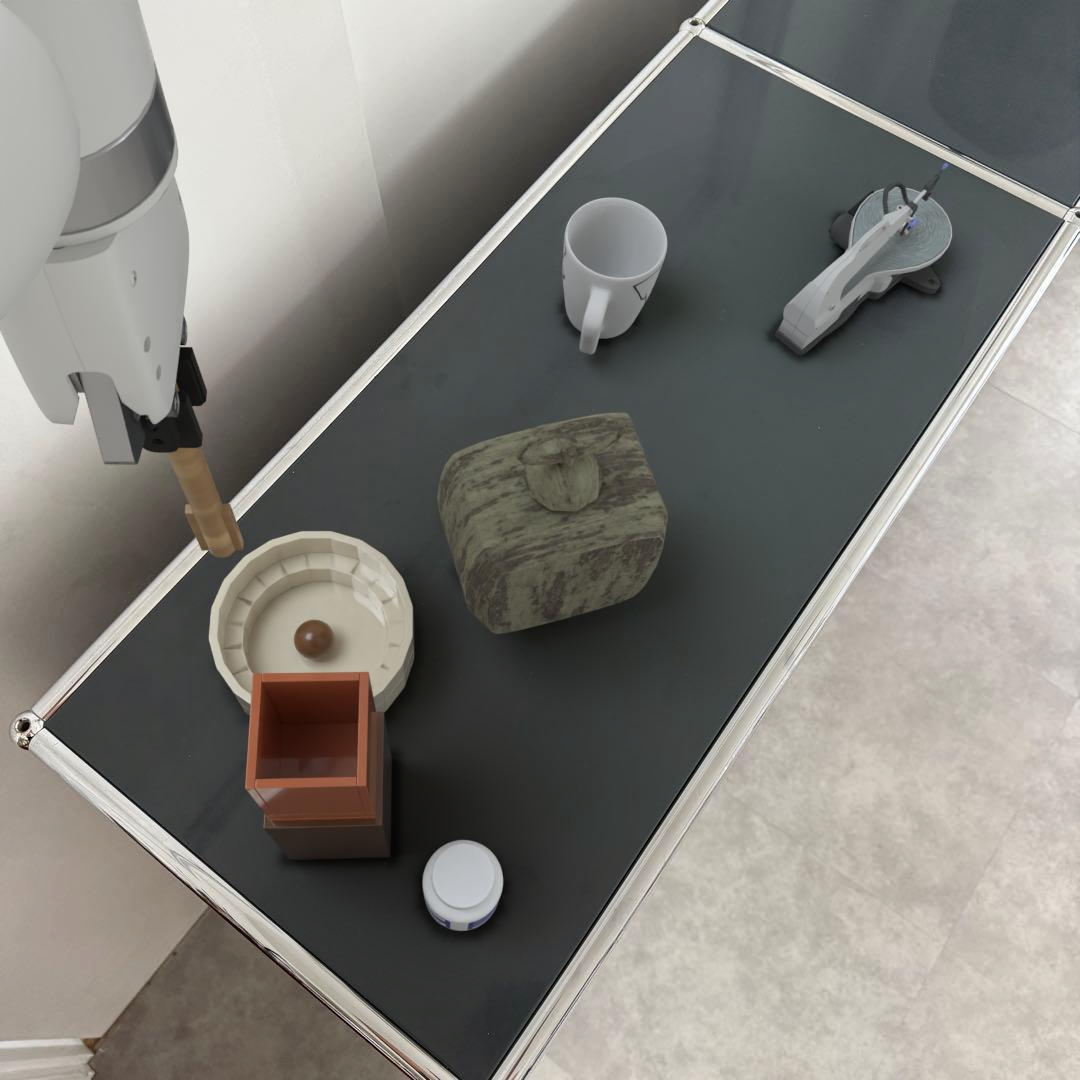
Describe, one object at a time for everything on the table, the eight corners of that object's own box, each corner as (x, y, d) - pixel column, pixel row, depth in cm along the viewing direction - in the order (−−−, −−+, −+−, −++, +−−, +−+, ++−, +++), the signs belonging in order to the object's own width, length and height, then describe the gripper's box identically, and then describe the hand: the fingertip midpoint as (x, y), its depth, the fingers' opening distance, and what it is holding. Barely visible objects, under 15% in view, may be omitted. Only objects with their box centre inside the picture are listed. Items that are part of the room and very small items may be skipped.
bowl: (217, 743, 80) (201, 721, 75) (231, 563, 86) (217, 531, 80) (413, 739, 81) (412, 718, 76) (414, 562, 87) (413, 530, 82)
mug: (627, 389, 95) (647, 321, 86) (533, 363, 96) (543, 293, 87) (655, 286, 100) (677, 212, 91) (566, 262, 100) (579, 185, 91)
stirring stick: (243, 558, 65) (172, 368, 46) (200, 558, 64) (113, 368, 46) (244, 533, 65) (174, 336, 47) (202, 534, 65) (116, 336, 47)
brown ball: (305, 621, 84) (297, 660, 83) (292, 613, 81) (284, 653, 80) (343, 626, 83) (335, 665, 82) (331, 618, 80) (323, 658, 80)
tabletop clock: (608, 514, 90) (665, 340, 68) (644, 614, 87) (718, 466, 64) (436, 557, 87) (436, 390, 65) (468, 662, 84) (479, 525, 61)
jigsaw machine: (878, 317, 88) (769, 230, 90) (834, 388, 97) (737, 308, 100) (1016, 188, 95) (911, 111, 97) (962, 266, 104) (868, 194, 107)
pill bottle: (499, 853, 79) (506, 832, 70) (498, 931, 76) (505, 919, 68) (424, 852, 78) (423, 831, 70) (421, 931, 76) (419, 918, 68)
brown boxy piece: (289, 860, 77) (236, 796, 57) (294, 760, 80) (245, 666, 59) (390, 857, 78) (373, 793, 57) (391, 758, 81) (376, 664, 60)
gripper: (-33, -51, 38) (108, 283, 55) (-128, 326, 32) (65, 575, 48) (190, -40, 39) (262, 286, 55) (142, 331, 32) (240, 574, 49)
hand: (170, 419), depth 52 cm, fingers closed on stirring stick, 1 cm apart
